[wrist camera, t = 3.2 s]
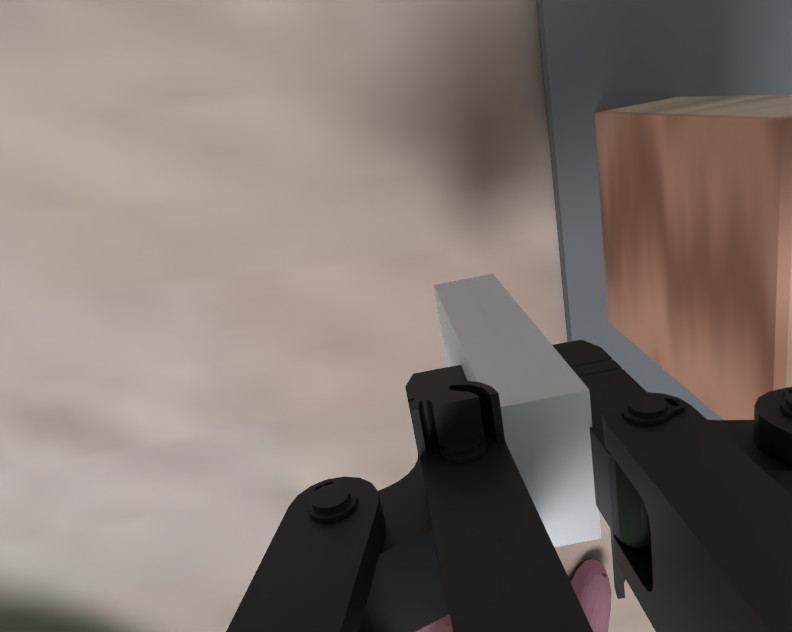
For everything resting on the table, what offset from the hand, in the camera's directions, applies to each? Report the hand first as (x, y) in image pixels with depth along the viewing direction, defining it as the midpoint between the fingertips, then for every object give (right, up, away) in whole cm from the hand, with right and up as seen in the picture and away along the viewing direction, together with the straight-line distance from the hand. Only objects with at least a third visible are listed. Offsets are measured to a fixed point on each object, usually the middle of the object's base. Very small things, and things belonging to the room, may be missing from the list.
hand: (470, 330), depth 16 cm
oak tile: (+7, +4, +7) cm, 11 cm away
